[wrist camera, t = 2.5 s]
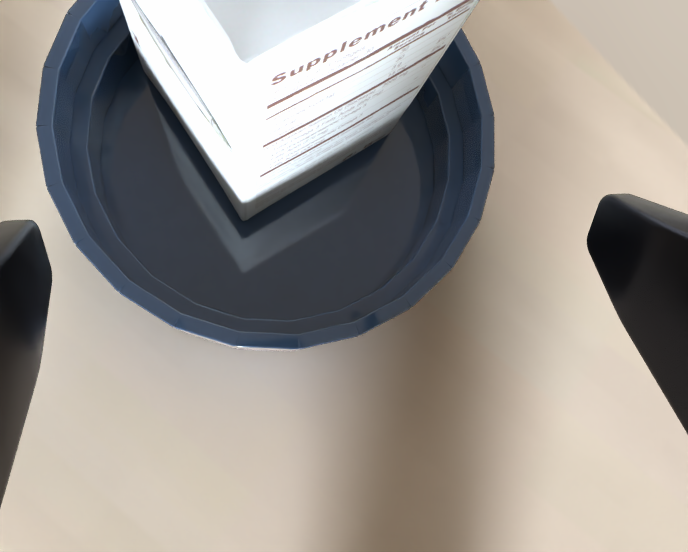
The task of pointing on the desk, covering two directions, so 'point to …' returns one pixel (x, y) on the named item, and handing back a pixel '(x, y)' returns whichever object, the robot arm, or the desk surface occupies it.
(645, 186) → the desk surface
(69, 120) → the basin
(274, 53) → the white packaging box
